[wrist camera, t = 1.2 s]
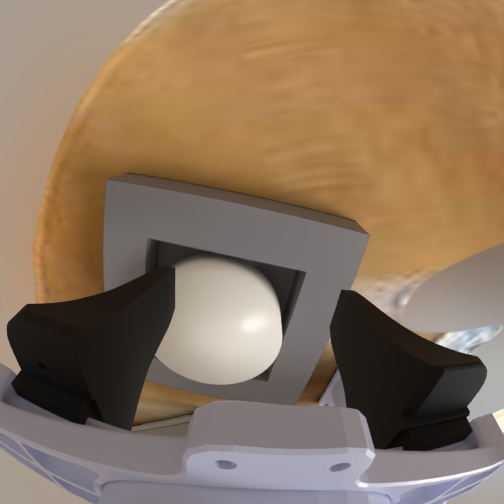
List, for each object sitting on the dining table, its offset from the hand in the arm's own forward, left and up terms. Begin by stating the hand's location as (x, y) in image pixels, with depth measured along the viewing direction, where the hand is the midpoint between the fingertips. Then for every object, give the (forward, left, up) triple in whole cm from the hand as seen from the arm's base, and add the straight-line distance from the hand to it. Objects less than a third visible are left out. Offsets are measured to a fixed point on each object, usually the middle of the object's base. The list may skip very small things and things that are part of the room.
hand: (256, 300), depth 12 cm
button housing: (+2, +7, -10) cm, 13 cm away
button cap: (+2, +7, -8) cm, 11 cm away
